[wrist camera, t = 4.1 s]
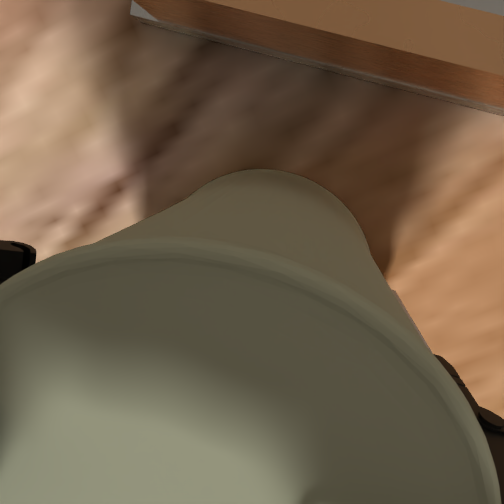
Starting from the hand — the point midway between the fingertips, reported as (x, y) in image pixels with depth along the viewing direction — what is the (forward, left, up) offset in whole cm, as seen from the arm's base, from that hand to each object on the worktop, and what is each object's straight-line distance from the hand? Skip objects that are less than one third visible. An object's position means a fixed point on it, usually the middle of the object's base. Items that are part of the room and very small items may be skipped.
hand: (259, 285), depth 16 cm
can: (0, 0, -1) cm, 1 cm away
